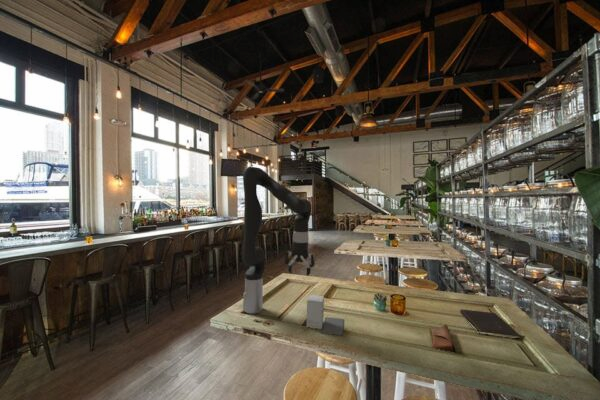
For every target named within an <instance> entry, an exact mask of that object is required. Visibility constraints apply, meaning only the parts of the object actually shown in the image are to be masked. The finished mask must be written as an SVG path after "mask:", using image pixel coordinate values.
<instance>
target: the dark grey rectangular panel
mask: <svg viewBox="0 0 600 400" xmlns="http://www.w3.org/2000/svg"><path fill="white" fill-rule="evenodd" d="M344 320H345V319H344V318H338V317H337V318H336V317H329V316H327V317H326V316H325V317H324V320H323V325H322V329H321V334H324V333H327V334H328V335H332V334H336V335H335V336H341V335H342V336H343V334H344V333H343V332H344ZM327 334H326V335H327Z"/></svg>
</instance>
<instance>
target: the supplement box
mask: <svg viewBox="0 0 600 400" xmlns="http://www.w3.org/2000/svg"><path fill="white" fill-rule="evenodd" d="M324 298H325V296H324V295H316V294H315V295H311V294H309V295H308V298H307V300H306V328H308V327H310V328H309V329H316V328H317V330H323V325H324V313H325V312H324V310H325V306H324V304H325V301H324Z"/></svg>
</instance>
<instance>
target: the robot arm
mask: <svg viewBox="0 0 600 400" xmlns="http://www.w3.org/2000/svg"><path fill="white" fill-rule="evenodd" d="M242 182H243V193H244V198H243V199H244V210H243V211H244V212H243V213H244V215H243V216H244V217H243V219H244V221H243V223H244V228H243V245H242V252H241V259H242V262H243V264H244V266H246V267H249V268H248V269H247V270H246V271H245V273H244V292H243V294H242V301H243V302H242V304H243V305H242V312H245V313H247V314H251V315H252V314H258V313H261V312H262V311H263V293H264V292H263V291H264V290H263V289H264V288H263V286H264V285H263V284H264V281H263V280H264V279H263V278H264V273H265V267H266V266H265V265H266V253H265V251H264V249H263V248H262V246H259V245H258V246H256V243H257V242H256V241H257V236H258V234H259V231H260V230H261V227H262V225H263V224H262V222H263V209H262V208H263V207H262V206H261V202H260V200H259V198H258V194H257V192H258V191H257V189H258V188H257V186H260V187H262V188H264V189H267V190H268V191H269V192H270V193H271V195H272V196H273V197H274V198H275V199H277V200H278V201H280V202H281V203H282V204H284V205H285V206H286V207H287V208H289V210H291V212H293V213H295V214H297V217H296V218H295V219H294V222H293V234H292V248H291V249H292V250H291V251H290V250H288V251H286V252H285V259H284V264H285V265H288V270H287V271H288V273H289V274H292V273H293V264H294V263H295V262H296V263H297V262H298V263H299V262H300V263H304V264H305V265H306V276H308V277H309V276H310V274H311V268H314V266H315V260H316V257H315V255H316V254H315V253H309V240H310V239H309V221H310V219H311V214H312V204H311V201H310V200H309V199H306V198H299V197H297V196H296V194H295V193H294V192H293V191H292V190H290V189H288V188H287V187H286V186H284V185H283V184H280V183H279V182H277V181H276V180H275V179H273V178H272V177H271V176H270V175H269V174H268V173H267V172H266V171H265V170H263V169H262V168H260V167H257V166H256V167H255V166H247V167H246V168H245V169H244V170H243V174H242ZM291 256H292V258H291V260H290V257H291ZM308 257H309V259H310V261H309V259H308Z"/></svg>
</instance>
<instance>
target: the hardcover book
mask: <svg viewBox="0 0 600 400" xmlns="http://www.w3.org/2000/svg"><path fill="white" fill-rule="evenodd" d="M459 312H460V314H461V315H462V316H463V318H464V317H465V318H466V319H467V320H468V321H469V322H470V323H471V324H472V325H473V326H474V327H475V328H476V329H477V331H478V332H485V333H493V334H499V335H504V336H509V337H519V338H520V337H521V335H520V334H518V332H517V331H515V330H514V329H513V328H512V327H511V326H510V324H508V323H507V322H506V321H505V320H503V319H502V318H501V317H500V316H499V315H498V314H497V313H496V312H488V311H481V310H472V309H471V310H470V309H463V308H462V309H460V311H459ZM465 318H464V319H465ZM466 319H465V320H466ZM467 320H466V321H467ZM468 321H467V322H468ZM469 322H468V323H469Z"/></svg>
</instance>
